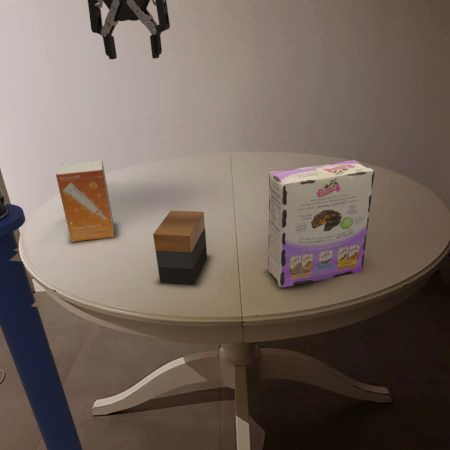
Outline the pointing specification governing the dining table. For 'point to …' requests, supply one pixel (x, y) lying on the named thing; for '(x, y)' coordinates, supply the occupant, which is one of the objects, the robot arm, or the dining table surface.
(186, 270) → the black pad
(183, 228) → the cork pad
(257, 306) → the dining table surface
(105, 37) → the robot arm
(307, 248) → the candy box
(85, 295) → the dining table surface
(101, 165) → the small box
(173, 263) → the grey pad
